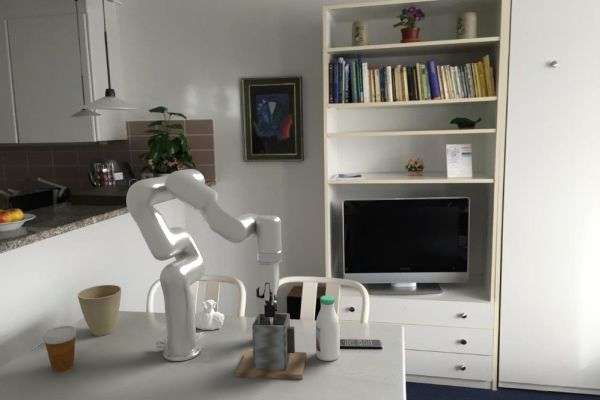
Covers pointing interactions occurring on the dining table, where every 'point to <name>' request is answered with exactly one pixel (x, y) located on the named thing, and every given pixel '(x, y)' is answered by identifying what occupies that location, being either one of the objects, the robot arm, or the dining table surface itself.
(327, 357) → the milk bottle
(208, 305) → the bust
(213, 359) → the dining table surface
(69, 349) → the disposable coffee cup
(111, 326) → the plant pot
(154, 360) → the dining table surface
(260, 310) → the travel mug
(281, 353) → the stand
